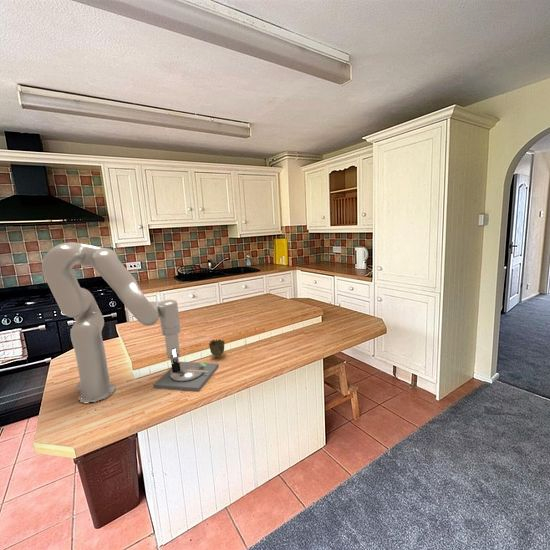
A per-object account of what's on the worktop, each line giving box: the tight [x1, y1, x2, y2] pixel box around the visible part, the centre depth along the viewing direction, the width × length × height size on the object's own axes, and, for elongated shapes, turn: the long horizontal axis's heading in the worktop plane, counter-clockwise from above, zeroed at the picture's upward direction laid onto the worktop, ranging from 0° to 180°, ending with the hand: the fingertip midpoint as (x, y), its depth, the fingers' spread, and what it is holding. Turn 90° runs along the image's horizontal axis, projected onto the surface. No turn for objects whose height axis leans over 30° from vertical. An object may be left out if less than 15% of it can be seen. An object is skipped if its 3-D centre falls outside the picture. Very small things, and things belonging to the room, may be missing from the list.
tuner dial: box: [170, 359, 209, 382], centre depth 125 cm, size 17×14×7 cm
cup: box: [208, 339, 225, 360], centre depth 143 cm, size 8×7×8 cm
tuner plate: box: [152, 361, 220, 392], centre depth 126 cm, size 20×20×2 cm
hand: (175, 366), depth 127 cm, fingers open, 9 cm apart
